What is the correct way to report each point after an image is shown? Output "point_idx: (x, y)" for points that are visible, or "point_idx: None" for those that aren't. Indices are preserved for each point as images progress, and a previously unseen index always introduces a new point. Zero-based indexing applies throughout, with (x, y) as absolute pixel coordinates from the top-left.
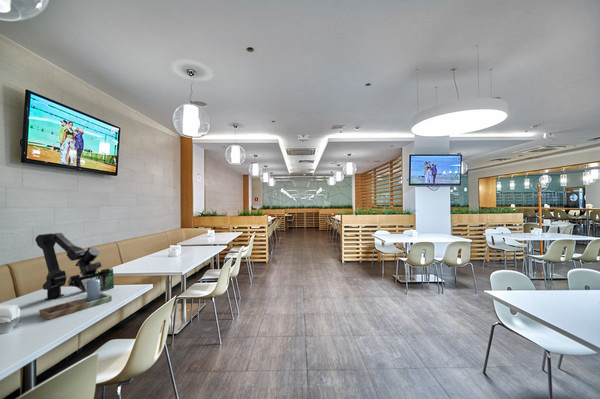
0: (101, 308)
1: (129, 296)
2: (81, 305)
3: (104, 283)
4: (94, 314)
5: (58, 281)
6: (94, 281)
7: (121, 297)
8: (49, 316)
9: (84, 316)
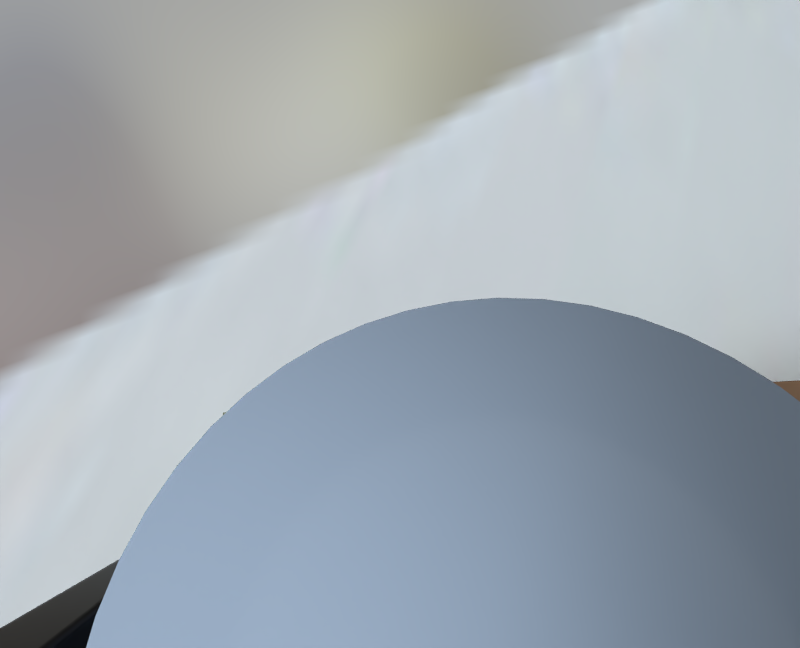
0: (510, 210)
1: (9, 383)
2: (794, 384)
3: (80, 592)
4: (634, 83)
5: None
6: (549, 301)
7: (82, 461)
8: None
9: (743, 109)
